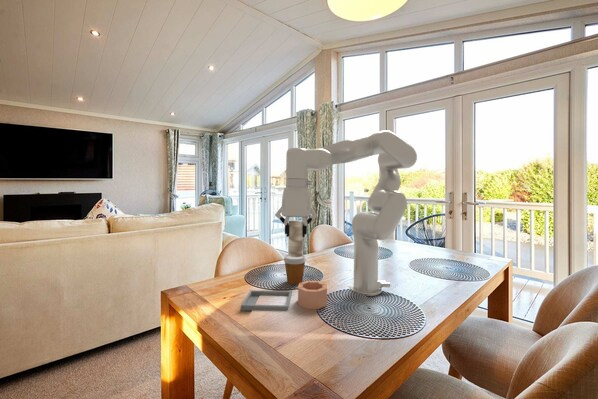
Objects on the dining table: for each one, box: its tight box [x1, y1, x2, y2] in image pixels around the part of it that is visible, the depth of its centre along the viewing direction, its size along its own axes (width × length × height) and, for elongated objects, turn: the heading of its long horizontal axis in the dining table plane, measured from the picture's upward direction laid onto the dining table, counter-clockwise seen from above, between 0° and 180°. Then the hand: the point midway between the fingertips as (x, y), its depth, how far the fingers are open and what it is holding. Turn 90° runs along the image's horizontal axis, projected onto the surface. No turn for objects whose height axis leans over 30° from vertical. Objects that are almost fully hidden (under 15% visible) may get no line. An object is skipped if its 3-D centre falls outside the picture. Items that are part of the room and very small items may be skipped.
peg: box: [287, 219, 304, 257], centre depth 99 cm, size 5×5×12 cm
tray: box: [240, 289, 293, 313], centre depth 102 cm, size 16×13×2 cm
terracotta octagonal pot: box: [297, 280, 328, 310], centre depth 101 cm, size 10×10×7 cm
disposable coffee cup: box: [283, 254, 307, 286], centre depth 121 cm, size 10×10×12 cm
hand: (295, 235), depth 99 cm, fingers closed on peg, 4 cm apart
